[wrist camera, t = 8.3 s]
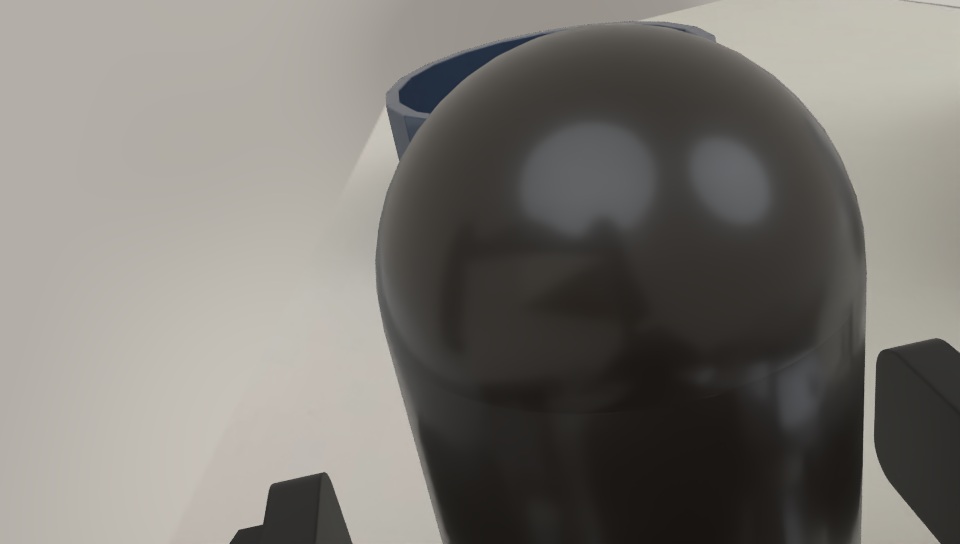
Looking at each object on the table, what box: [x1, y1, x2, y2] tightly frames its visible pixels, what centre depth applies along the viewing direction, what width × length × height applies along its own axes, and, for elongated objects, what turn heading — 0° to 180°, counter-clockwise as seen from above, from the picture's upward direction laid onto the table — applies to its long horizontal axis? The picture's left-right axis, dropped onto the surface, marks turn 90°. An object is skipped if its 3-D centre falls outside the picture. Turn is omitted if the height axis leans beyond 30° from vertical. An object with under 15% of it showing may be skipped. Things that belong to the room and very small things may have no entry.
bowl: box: [386, 21, 716, 162], centre depth 38 cm, size 14×14×6 cm
